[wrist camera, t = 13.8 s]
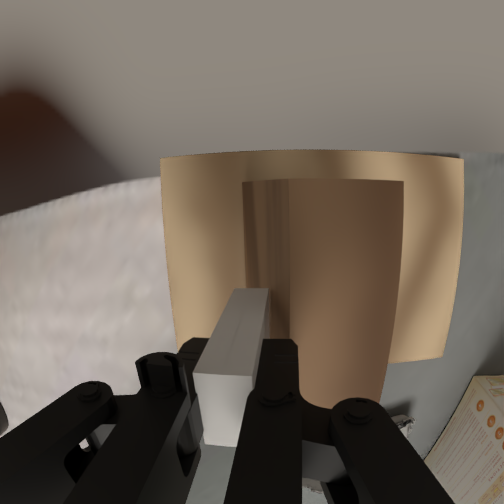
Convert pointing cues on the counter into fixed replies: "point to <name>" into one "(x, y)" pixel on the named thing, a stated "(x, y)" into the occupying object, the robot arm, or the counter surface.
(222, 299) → the light wood board
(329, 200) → the walnut slab
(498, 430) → the coffeecake box
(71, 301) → the counter surface
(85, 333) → the counter surface
